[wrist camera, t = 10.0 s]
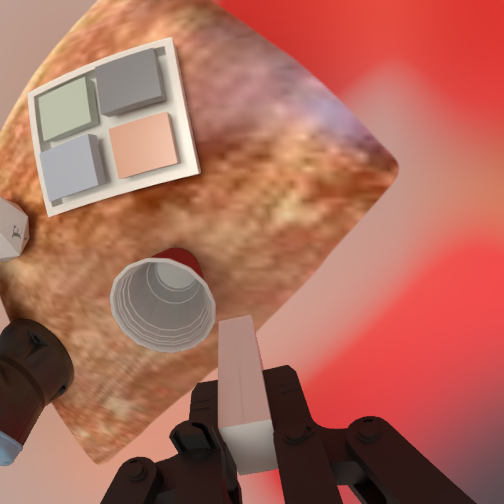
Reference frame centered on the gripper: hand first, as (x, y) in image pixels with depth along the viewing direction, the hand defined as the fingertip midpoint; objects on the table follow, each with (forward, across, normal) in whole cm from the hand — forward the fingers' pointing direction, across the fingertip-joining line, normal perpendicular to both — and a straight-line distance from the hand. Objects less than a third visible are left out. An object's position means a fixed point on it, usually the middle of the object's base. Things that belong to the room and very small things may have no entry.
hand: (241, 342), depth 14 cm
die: (+27, +31, -8) cm, 42 cm away
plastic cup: (+27, +8, +4) cm, 28 cm away
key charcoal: (+23, +8, -20) cm, 31 cm away
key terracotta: (+25, +7, -12) cm, 28 cm away
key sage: (+25, +17, -20) cm, 36 cm away
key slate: (+23, +17, -12) cm, 31 cm away
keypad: (+26, +12, -16) cm, 33 cm away
